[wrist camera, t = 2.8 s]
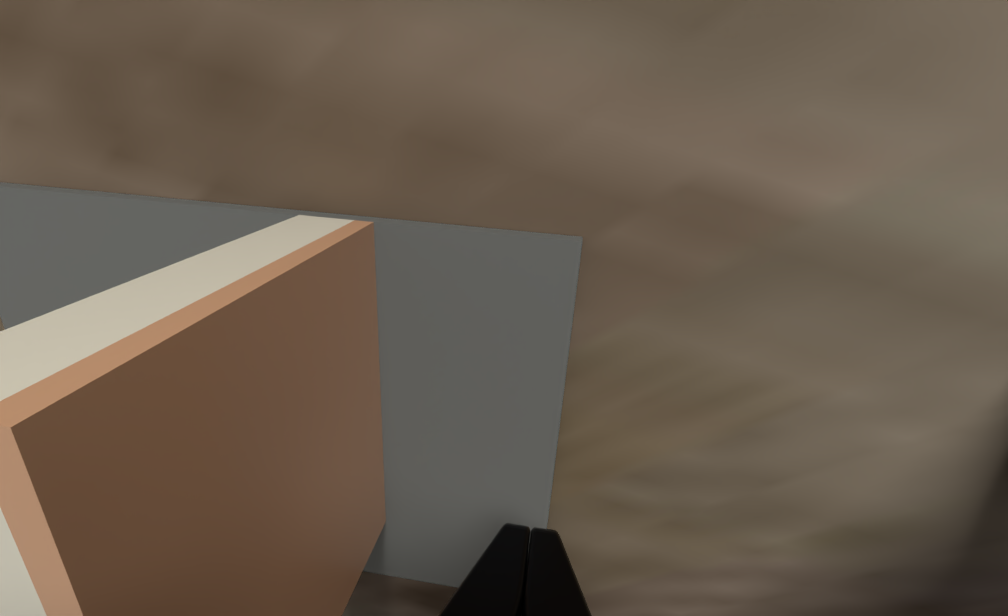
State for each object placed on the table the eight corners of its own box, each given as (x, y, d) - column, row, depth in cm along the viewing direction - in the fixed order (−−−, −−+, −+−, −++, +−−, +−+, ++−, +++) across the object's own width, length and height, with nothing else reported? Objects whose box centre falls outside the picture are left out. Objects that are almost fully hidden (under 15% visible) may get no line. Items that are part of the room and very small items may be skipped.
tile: (373, 221, 10) (11, 427, 4) (386, 521, 13) (200, 917, 7) (298, 214, 10) (-174, 399, 4) (328, 511, 13) (93, 890, 7)
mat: (582, 236, 10) (582, 242, 10) (538, 588, 14) (537, 601, 13) (-28, 179, 12) (-48, 182, 11) (86, 511, 15) (74, 520, 15)
